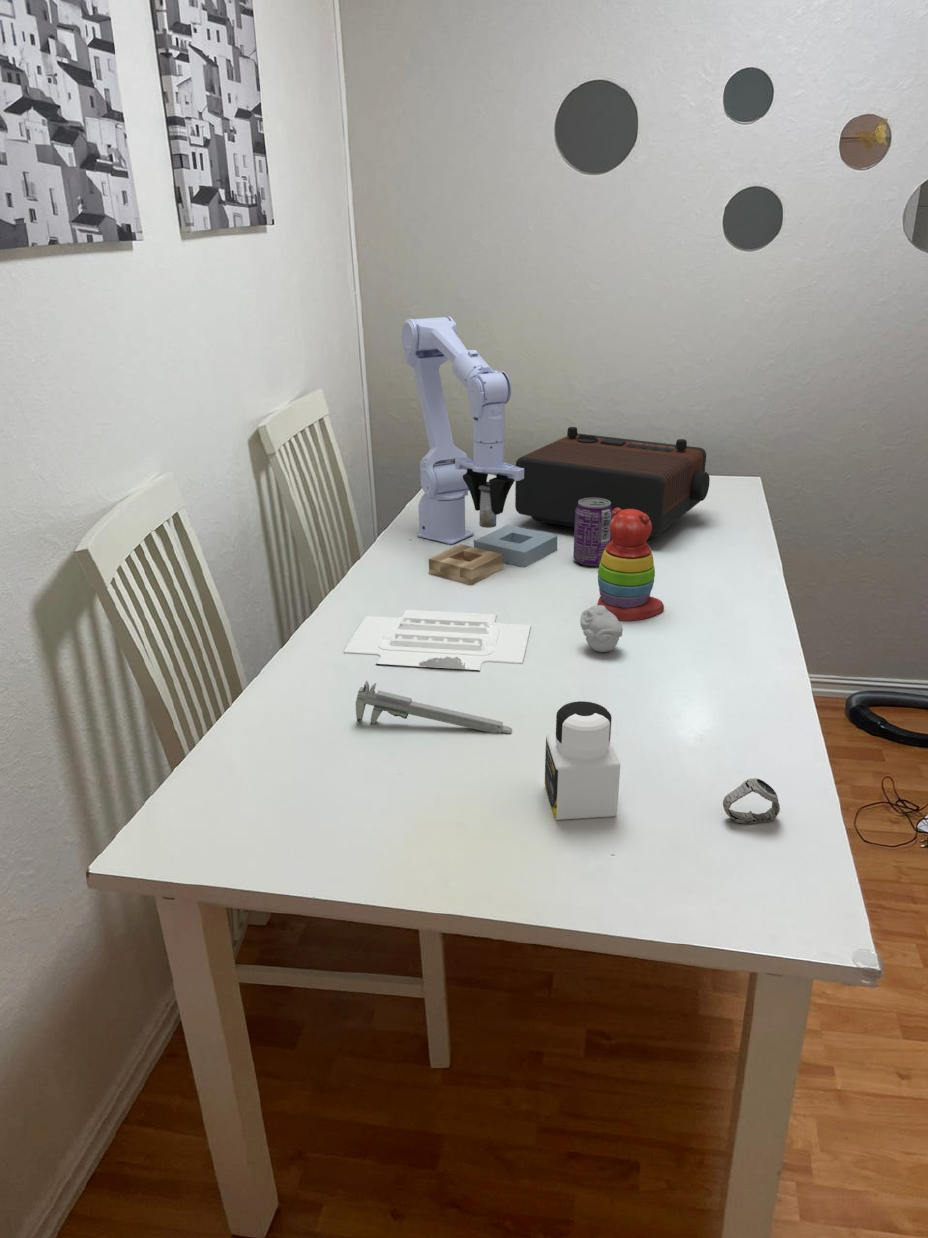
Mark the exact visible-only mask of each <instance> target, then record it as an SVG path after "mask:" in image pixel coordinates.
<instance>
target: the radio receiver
mask: <svg viewBox="0 0 928 1238" xmlns="http://www.w3.org/2000/svg"><path fill="white" fill-rule="evenodd" d="M675 441H676V442H675V444H674V443H673V444H672V443H665V442H655V441H654V442H653V441H647V440H646V441H645V440H639V439H638V440H637V439H629V438H622V437H612V436H611V437H610V436H603V435H593V434H586V433H585V434H584V433H578V427H576V426H569V427H567V433H566V436H564V437H562V438H559V439H558V440H555V441H552V442H551V443H549V444H546V445H544V446H542V447H540V448H538V449H536V450H534V451H531V452H529V453H527V454H524V455H523V456H520V457H518V458H517V460H515V466H516V467H519V468H524V479H522V480H519V481H515V486H514V487H515V490H514V491H515V492H514V495H515V497H514V498H515V499H514V505H515V510H516V512H517V513H518V514H519V515H521V516H522V515H523V516H529V517H530V518H532V519H533V520H534V521H536V522H542V523H545V524H547V525H550V524H553V525H559V526H565V527H571V528H575V510H576V508H577V506H578V501H579V500H581V499H584V498H603V499H607V500H609V501H610V502H611V505H610V506H611V508H612V511H613V510H614V509H615V508H620V509H622V510H625V509H635V510H639V511H641V512H643V513H645V514H647V515H648V517H649V520H650V521H651V524H652V530H651V533H650V536H649V538H648V539H647V541H651V540H653V539H655V538H657V537H658V536H659V535H660V534H661V533H663V532H665V530H667V529H668V528H669V527H670V526H672V525H673V524H674V523H675V522H676V521H678V520H679V519H680V518H682V517H683V516H684V515H685V514H687V512H689V511H690V510H692V509H693V508H694V507H696V506H697V505H698V504H699V503H700V502H702V501H704V500H705V499H706V498H707V495H708V492H709V489H710V478H711V477H710V474H709V472H707V471H706V462H707V452H706V450H705V449H704V448H702V447H698V446H697V447H696V446H689V445H688V444H687V443H688V442H687V441H688V440H686V439H684V438H678V439H677V440H675Z"/></svg>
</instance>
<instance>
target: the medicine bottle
mask: <svg viewBox="0 0 928 1238" xmlns="http://www.w3.org/2000/svg"><path fill="white" fill-rule="evenodd" d="M555 719H556V720H555V733H547V734H546V737H545V755H544V756H545V757H544V759H545V760H544V761H545V762H544V763H545V765H544V787H545V790H546V793H547V797H548V800H549V803H550V808H551V811H552V814H553V817H554V818H553V819H554V820H557V821H563V820H564V821H565V820H577V819H578V820H580V819H595V818H596V819H597V818H610V817H617V815H618V804H619V790H620V776H621V775H620V774H621V762H620V761H619V758H618V755H617V753H616V751H615V749H614V747H613V744H612V742H611V734H612V733H611V732H612V731H611V730H612V720H613V719H612V714H611V712H610V711H608V709H607V708H605V707H604V706H603V705H600V704H598V703H596V702H592V701H585V700H584V701H583V700H582V701H581V700H580V701H572V702H568V703H566V704H564V705H563V706H561V707H560V708H559V709H558V710H557V712H556V718H555Z"/></svg>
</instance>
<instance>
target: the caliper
mask: <svg viewBox="0 0 928 1238" xmlns="http://www.w3.org/2000/svg"><path fill="white" fill-rule="evenodd" d="M376 687H377V682H374V683H373V684H372V685H371V687H370V683H369V681H368V680H365V682H364V684H363V687H362V686H360V687H359V689H358V691H357V692H358V693H357V695H356V700H355V715H356V722H357V723H358V724H362V722H363V719H364V713H365V710H366V706H367V705H368V706H373V708H372V712H371V716H370V722H369V725H373V726H374V725H375V724H376V723H377V721H378V719H379V717H381V716H380V715H381V714H382V712H383V711H384V712H387V713H389V715H392V716H394V717H400V718H402V719H405V720H406V719H408V716H409V715H411V716H416V717H420V718H424V719H430V720H433V721H437V722H442V723H447V724H449V725H450V724H451V725H455V726H459V727H464V728H468V729H472V730H475V731H476V730H477V731H481V732H484V733H490V734H501V733H505V734H508V735H510V734H513V733H512V732H513V728H511V726H507V725H504V722H503V721H500V720H496V719H491V718H489V717H488V718H487V717H483V716H479V715H475V714H469V713H464V712H461V711H457V710H453V709H448V708H443V707H439V706H436V705H430V704H426V703H422V702H417V701H414V700H413V701H412V697H408V696H403V695H400V694H395V693H391V692H387V691H383V690H378V691H377V692H376Z"/></svg>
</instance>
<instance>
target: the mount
mask: <svg viewBox="0 0 928 1238" xmlns="http://www.w3.org/2000/svg"><path fill="white" fill-rule="evenodd" d="M503 564H504V562H503V554H500V553H496V552H492V551H488V550H484V549H479V548H475V547H474V546H471V545H466V544H461V543H460V544H457V545H456V546H453V547H451V548H449V549H447V550H445V551H443V552H441V553H438V554H435V555H433V556H431V557H429V558H428V574H429V575H432V576H436V577H440V578H443V579H447V580H452V581H456V582H458V583H462V584H466V585H469V586H473V585H475V584H477V583H479V582H480V581H482V580H485V579H486V578H488V577H490V576H492V575H494V574H496V573H497V572H500V571H502V570H503V568H504V565H503Z"/></svg>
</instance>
